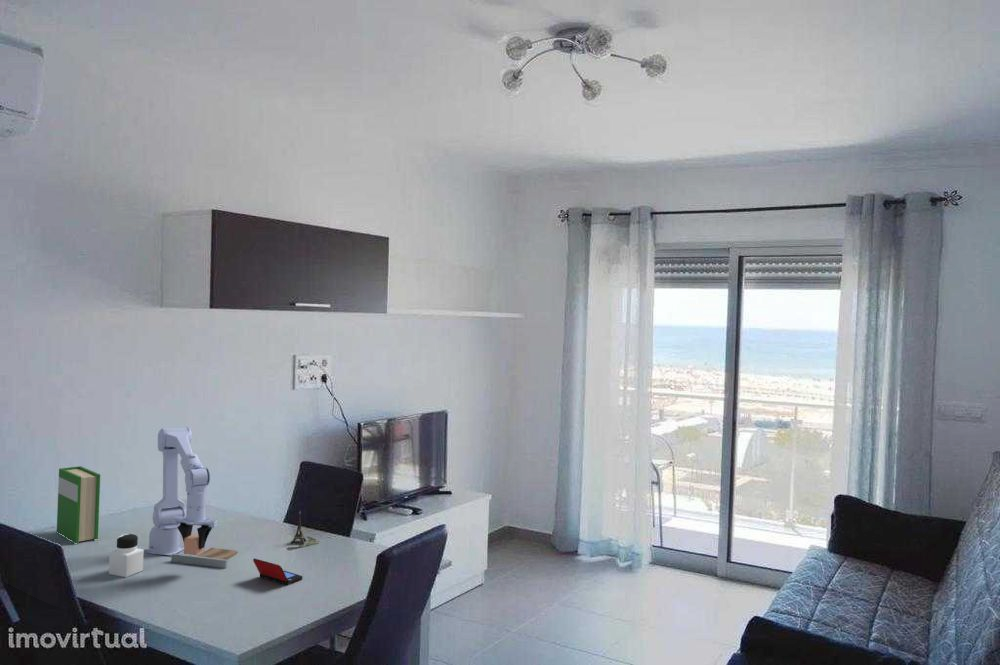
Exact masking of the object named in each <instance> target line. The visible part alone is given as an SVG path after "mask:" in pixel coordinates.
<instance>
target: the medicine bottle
mask: <svg viewBox="0 0 1000 665" xmlns="http://www.w3.org/2000/svg"><path fill="white" fill-rule="evenodd" d="M138 539H139V537H138V535H137V534H133V533H126V534H125V533H124V534H121V535H119V536H118V537H117V538H116V548H115V550H112V551H110V552H109V560H108V561H109V562H108V563H109V564H108V574H109V575H112V576H118V577H122V578H128V577H131V576H133V575H136V574H139V573H141V572H142V571H143V570H144V549H143V548H138V542H139V541H138Z"/></svg>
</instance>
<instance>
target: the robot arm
mask: <svg viewBox="0 0 1000 665" xmlns="http://www.w3.org/2000/svg"><path fill="white" fill-rule="evenodd" d="M192 440H193V433H192V429H191V428H190V427H189V426H185V427H173V428H172V427H171V428H164V427H163V428H161V429H159V432H158V433H157V450H158V451H159V452H160V453H162V498H161V499H160V500H159V501H158V502H157V503H155V504H154V506H153V513H152V522H153V527H152V528H151V529H150V532H149V537H148V539H149V540H148V551H147V554H154V555H162V556H169V557H170V556H171V557H172V554H173V553H174V554H179V553H180V552H182V551H184V547H181V546H180V545H181V544H180V542H181V537H182V540H183V542H184V538H186V537H188V536H190V535H192V532H193V527H194V526H199V527H198V528H196V530H197V535H198V536H199V549H202V548H204V546H205V545H206V542H207V538H208V537H209V535H210V532H211V531H212V529H215V528H217V527H218V526H219V525H218V524H219V523H218V522H219V521H218V519H217V520H216V519H211V518H208V517H206V506H207V486H208V485H209V484H210V481H211V473H210V470H209V468H208V467H206V466H203V463H202V462H201V460H200V458H199V456H198V454H196V453H194V452H193V450H192V447H191V443H192ZM179 456H180V457H181V459H180V465H181V468H182V469H183V473H184V475H185V476H184V483H185V491H186V503H185V502H184V501H183V500H181V499H180V498H178V495H179V493H178V492H179V491H178V489H179V480H178V478H179ZM205 547H206V546H205Z"/></svg>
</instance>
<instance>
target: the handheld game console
mask: <svg viewBox="0 0 1000 665" xmlns="http://www.w3.org/2000/svg"><path fill="white" fill-rule="evenodd" d="M252 561H253V563H254V565H255V568H256V570H257V571H258V573H259V578H260V579H264V580H268V581H273V582H275V583H277V584H281V585H284V586H289V585H291V584H294V583H297V582H300V581H301V580H303V575H300V574H297V573H294V572H290V571H287V570H284V569H283V567H282V566H281V565H279V564H277V563H274V562H273V563H272V562H269V561H264V560H262V559H257V558H253V559H252Z"/></svg>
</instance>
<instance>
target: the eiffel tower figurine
mask: <svg viewBox="0 0 1000 665" xmlns="http://www.w3.org/2000/svg"><path fill="white" fill-rule="evenodd" d="M301 513H302V512H301V511H298V522H297V527H296V528H297V529H296V532H295V534H294V535H293V536H294V538H293V539H292V540H291V542H290V544H289V545H290V546H288V547H286V548H285V549H286V550H289V551H291V550H296V549H301V548H304V547H308V546H313V545H318V544H319V543H320V541H319V540H317V539H316V538H313V537H311V536H310V535H308V536H304V534H303V530H302V525H301V522H302V521H301V520H302V518H301ZM294 546H295V547H294Z"/></svg>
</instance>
